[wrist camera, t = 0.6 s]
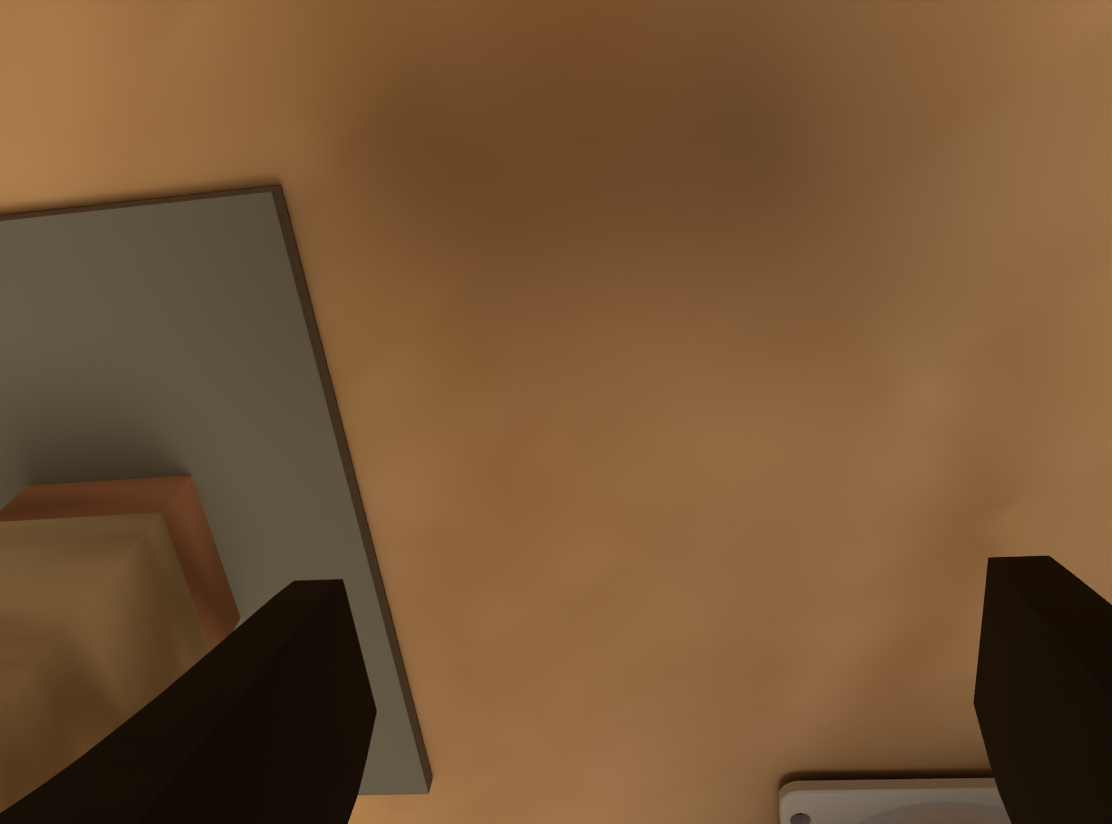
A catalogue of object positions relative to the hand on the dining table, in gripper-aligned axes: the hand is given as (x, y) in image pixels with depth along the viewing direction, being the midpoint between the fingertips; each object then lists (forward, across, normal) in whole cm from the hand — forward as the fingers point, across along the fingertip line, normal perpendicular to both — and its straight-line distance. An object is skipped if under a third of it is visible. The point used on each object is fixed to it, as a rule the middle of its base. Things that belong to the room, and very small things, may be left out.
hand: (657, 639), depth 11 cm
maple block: (+9, +12, +5) cm, 16 cm away
